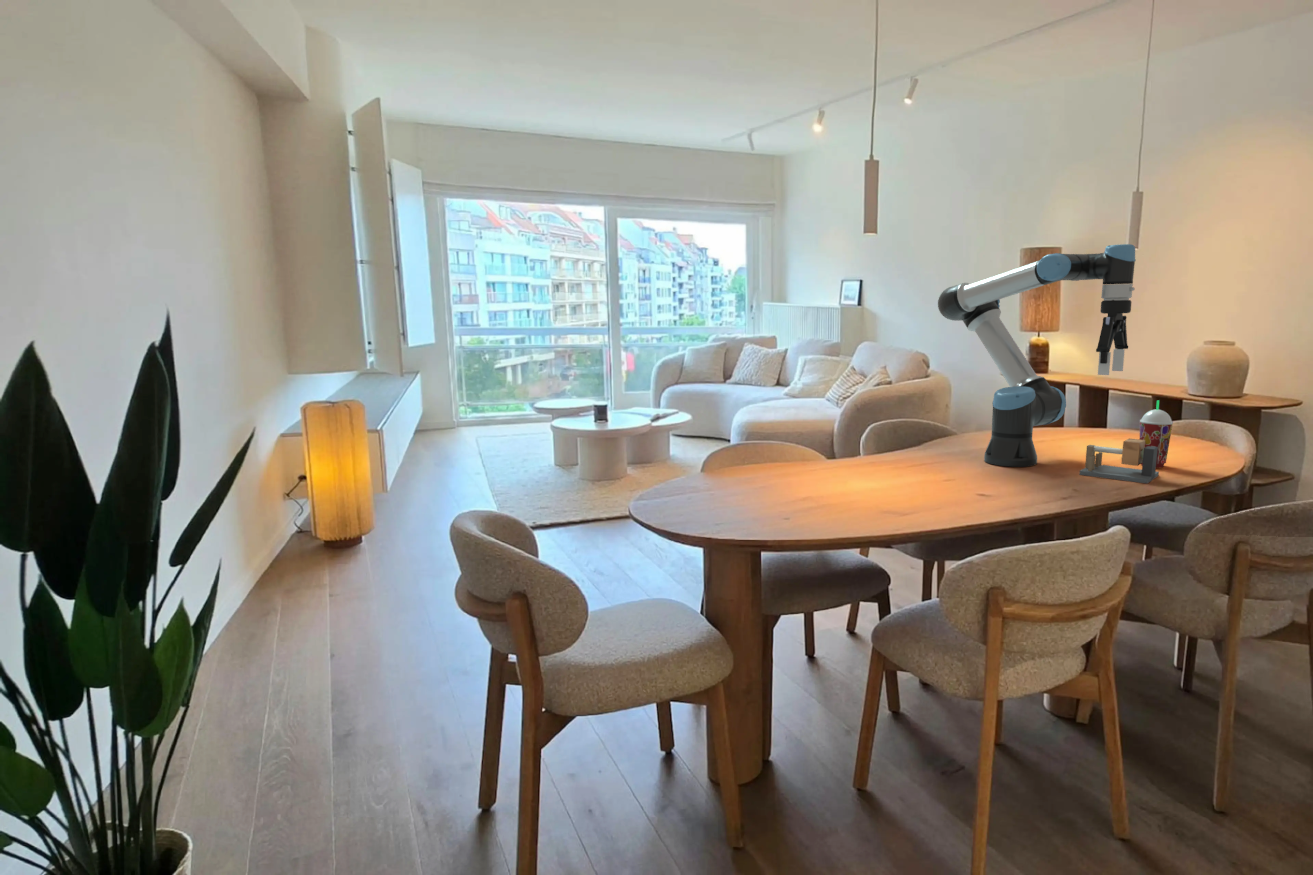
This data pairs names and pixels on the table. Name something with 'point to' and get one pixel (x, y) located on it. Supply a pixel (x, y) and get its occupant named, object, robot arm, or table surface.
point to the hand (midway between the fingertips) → (1110, 373)
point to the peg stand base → (1120, 473)
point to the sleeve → (1132, 451)
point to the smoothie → (1157, 432)
